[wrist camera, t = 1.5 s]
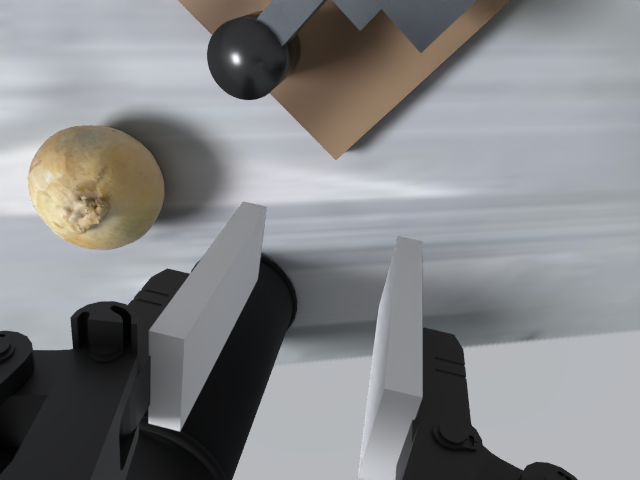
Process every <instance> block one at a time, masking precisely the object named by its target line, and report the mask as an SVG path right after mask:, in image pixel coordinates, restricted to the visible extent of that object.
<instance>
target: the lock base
mask: <svg viewBox="0 0 640 480" xmlns="http://www.w3.org/2000/svg"><path fill="white" fill-rule="evenodd" d="M178 1H179V2H180V3H181V4H182V5H183V6H184V7H185V8H186V9H187V10H188V11H189V12H190V13H191V14H192V15H193V16H194V17H195V18H196V19H197V20H198V21H199V22H200V23H201V24H202V25H203V26H204V27H205V28H206V29H207V30H208V31H209V32H210V33H211V34H212V35H213V34H214V32H215V31H216V30H217V28H218V27H220V26H221V25H222V24H223V23H225V22H227V21H229V20H232V19H235V18H238V17H241V16H244V15H248V14H251V13H254V12H257V11H264V10H265V8H266V7H267V6H268V5H269V4H270V2H271V1H272V0H178ZM510 1H511V0H477V1H476V2H475V3H474V4H473V5H472V6H470V7H469V8H468V9H467V10H466V11H465V12H464V13H463V14H462V15H461V16H460V17H459V18H458V19H457V20H456V21H455V22H454V23H453V24H451V25H450V26H449V27H448V28H447V29H446V30H445V31H444V32H443V33H442V34H441V35H440V36H439V37H438V38H437V39H436V40H435V41H434V42H432V43H431V44H430V45H429V46H428V47H427V48H426V49H425V50H424V51H423V52H422V53H420V52H419V51H418V50H417V49H416V47H415V46H414V45H413V44H412V43H411V42H410V41H409V39H408V38H407V37H406V36H405V35H404V34H403V33H402V32H401V30H400V29H399V28H398V27H397V26H396V25H395V24H394V22H393V21H392V20H391V19H390V18H389V17H388V16H387V15H386V13H385V12H384V11H383V10H382V9H381V10H380V11H379V12H378V13H377V14H376V15H375V16H374V17H373V18H372V19H371V20H370V21H369V22H368V24H367V25H366V26H365V27H364V28H363V29H362V30H361V31H360V30H359V29H358V28H357V27H356V26H355V25H354V24H353V23H352V22H351V20H350V19H349V18H348V17H347V16H346V15H345V14H344V13H343V12H342V11H341V9H340V8H339V7H338V6H337V5H336V4H335V3H334V2H333V1H332V0H327V1H326V2H325V3H324V4H323V6H322V7H321V8H320V9H319V10H318V11H317V12H316V13H315V15H314V16H313V17H312V18H311V19H310V20H309V21H308V22H307V23H306V25H305V26H304V27H303V28H302V29H301V30H300V31H299V32H298V33H297V34H298V37H299V40H300V47H301V51H300V58H299V62H298V64H297V66H296V68H295V69H294V71H293V72H292V73H291V74H290V75H289V76H288V77H287V78H286V79H285V80H283V81H282V82H281V83H280V84H279V85H278V86H277V87H276V88H274V89H273V90H272V91H271V92H270V94H271V95H272V96H273V97H274V98H275V99H276V100H277V101H278V102H279V103H280V104H281V105H282V106H283V107H284V108H285V109H286V110H287V111H288V112H289V113H290V114H291V115H292V116H293V117H294V118H295V119H296V120H297V121H298V122H299V123H300V124H301V125H302V126H303V127H304V128H305V129H306V130H307V131H308V132H309V133H310V134H311V135H312V136H313V137H314V138H315V139H316V140H317V141H318V142H319V143H320V144H321V145H322V146H323V148H324V149H325V150H326V151H327V152H328V153H329V154H330V155H331V156H332V157H333V158H334V159H335V160H337V159H338V158H339V157H340V156H341V155H342V154H343V153H345V152H346V151H347V150H348V149H349V148H350V147H351V146H352V145H353V144H354V143H355V142H357V141H358V140H359V139H360V138H361V137H362V136H363V135H364V134H365V133H366V132H367V131H369V130H370V129H371V128H372V127H373V126H374V125H375V124H376V123H377V122H378V121H379V120H381V119H382V118H383V117H384V116H385V115H386V114H387V113H388V112H389V111H390V110H392V109H393V108H394V107H395V106H396V105H397V104H398V103H399V102H400V101H401V100H402V99H404V98H405V97H406V96H407V95H408V94H409V93H410V92H411V91H412V90H413V89H414V88H416V87H417V86H418V85H419V84H420V83H421V82H422V81H423V80H424V79H425V78H426V77H428V76H429V75H430V74H431V73H432V72H433V71H434V70H435V69H436V68H437V67H438V66H440V65H441V64H442V63H443V62H444V61H445V60H446V59H447V58H448V57H449V56H451V55H452V54H453V53H454V52H455V51H456V50H457V49H458V48H459V47H460V46H461V45H463V44H464V43H465V42H466V41H467V40H468V39H469V38H470V37H471V36H472V35H473V34H475V33H476V32H477V31H478V30H479V29H480V28H481V27H482V26H483V25H484V24H485V23H487V22H488V21H489V20H490V19H491V18H492V17H493V16H494V15H495V14H496V13H497V12H499V11H500V10H501V9H502V8H503V7H504V6H505V5H506V4H507V3H508V2H510Z"/></svg>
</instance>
